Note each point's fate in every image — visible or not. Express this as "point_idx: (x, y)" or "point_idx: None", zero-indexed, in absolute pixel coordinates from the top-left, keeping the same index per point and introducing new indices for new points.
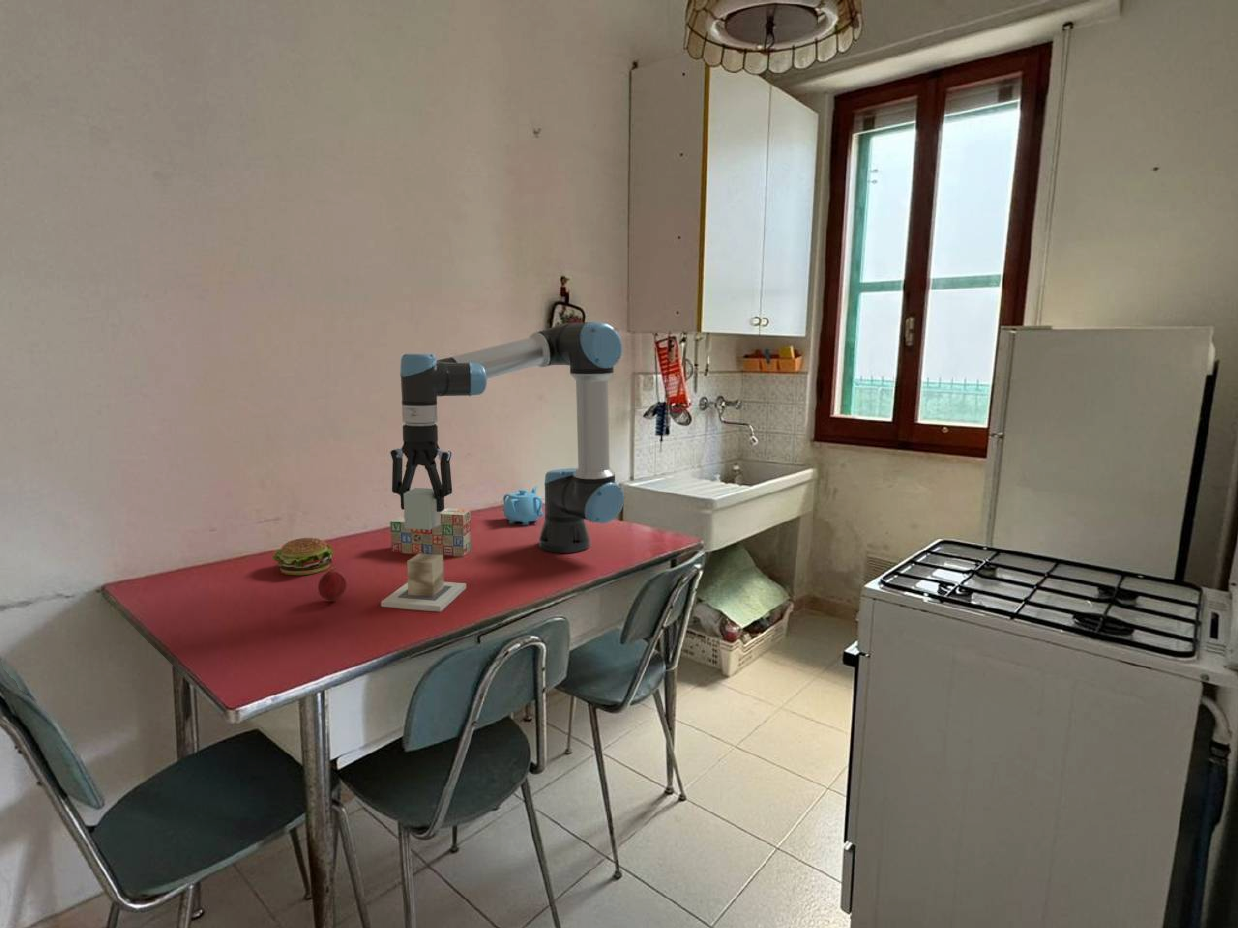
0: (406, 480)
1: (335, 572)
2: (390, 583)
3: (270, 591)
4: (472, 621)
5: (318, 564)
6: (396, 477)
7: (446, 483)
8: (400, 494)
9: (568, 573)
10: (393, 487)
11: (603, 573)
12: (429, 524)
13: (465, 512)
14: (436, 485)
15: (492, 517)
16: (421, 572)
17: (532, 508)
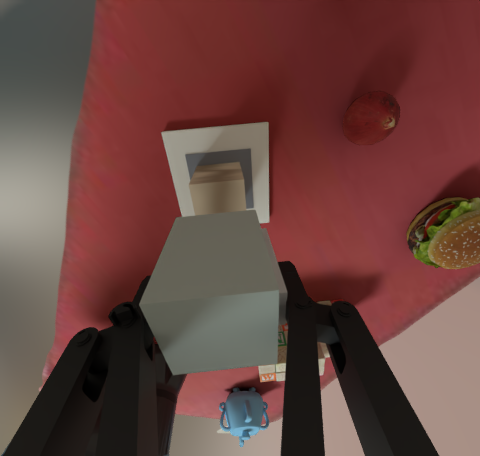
0: (296, 377)
1: (379, 124)
2: (298, 212)
3: (469, 129)
4: (85, 105)
5: (423, 225)
6: (369, 387)
7: (37, 399)
8: (307, 300)
9: (97, 302)
10: (356, 323)
11: (59, 313)
12: (173, 225)
13: (261, 374)
14: (111, 375)
15: (278, 393)
16: (213, 175)
17: (228, 411)
